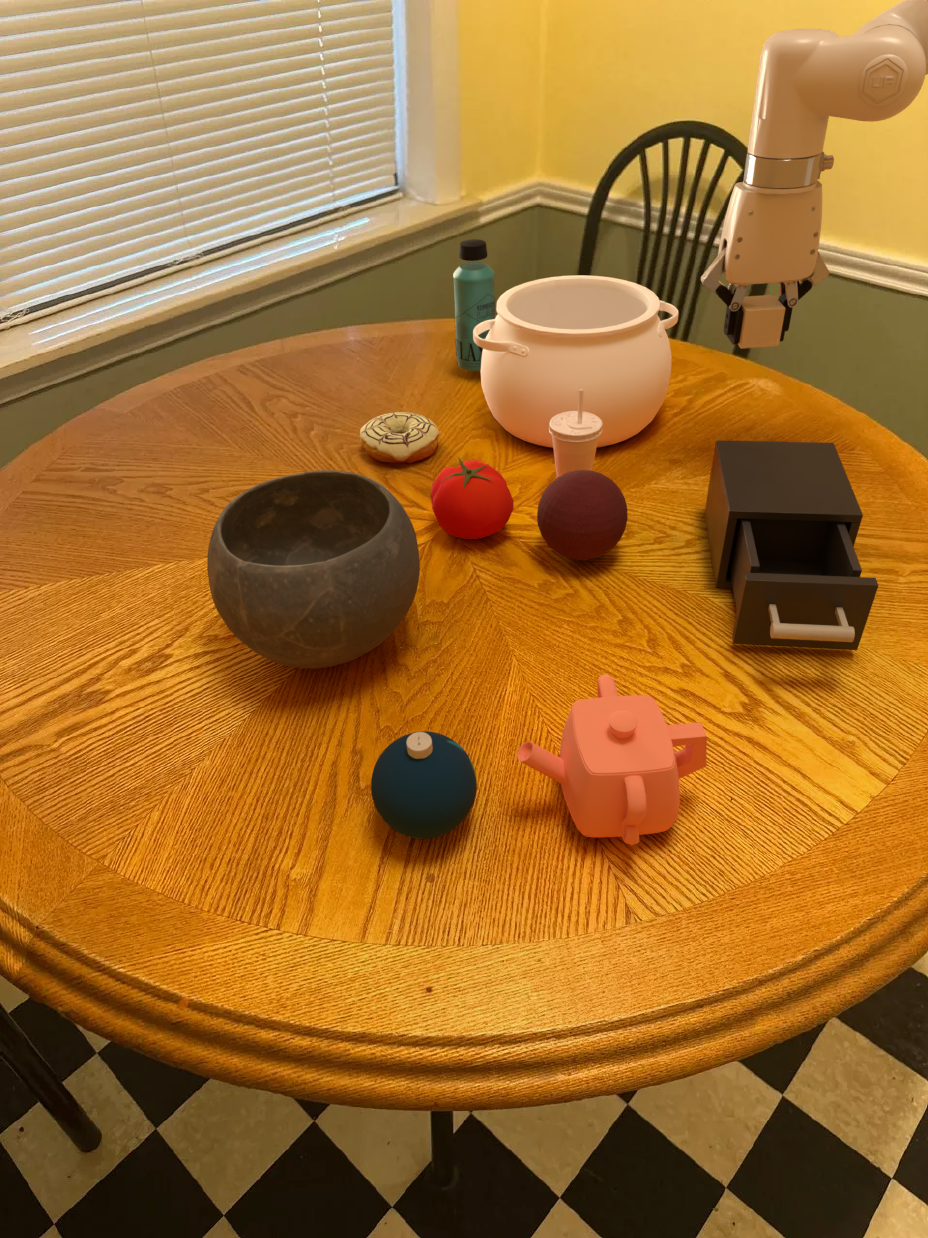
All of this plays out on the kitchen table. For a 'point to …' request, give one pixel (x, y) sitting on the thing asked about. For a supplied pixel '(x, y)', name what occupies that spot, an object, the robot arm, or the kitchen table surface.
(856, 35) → the robot arm
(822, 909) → the kitchen table surface
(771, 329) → the block
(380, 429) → the decorated donut
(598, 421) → the smoothie
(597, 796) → the teapot
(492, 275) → the beverage bottle
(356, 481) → the bowl
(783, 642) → the drawer
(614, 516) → the decorative ball
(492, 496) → the tomato
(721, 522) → the cabinet
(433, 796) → the christmas ornament
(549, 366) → the pot
